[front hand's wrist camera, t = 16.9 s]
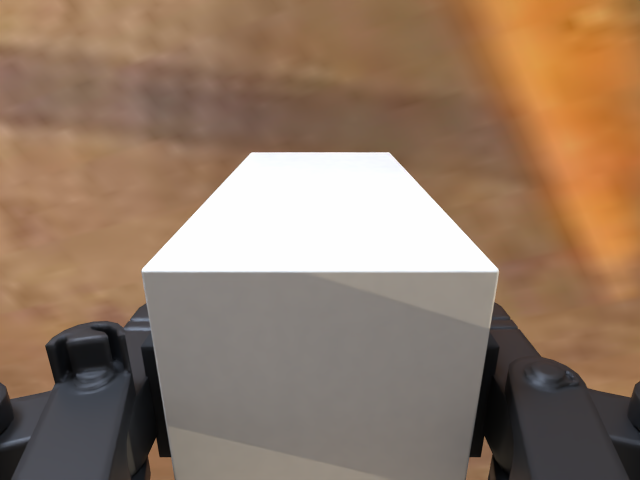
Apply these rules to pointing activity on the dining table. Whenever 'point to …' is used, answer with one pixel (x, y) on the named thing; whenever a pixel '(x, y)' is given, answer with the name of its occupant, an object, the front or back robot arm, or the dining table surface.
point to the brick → (320, 326)
